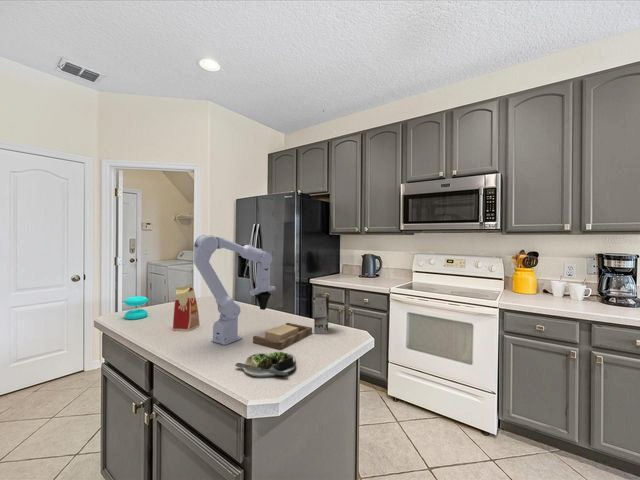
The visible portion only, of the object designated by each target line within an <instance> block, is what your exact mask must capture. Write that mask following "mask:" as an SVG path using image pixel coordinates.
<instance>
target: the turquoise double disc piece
mask: <svg viewBox="0 0 640 480" xmlns="http://www.w3.org/2000/svg"><path fill="white" fill-rule="evenodd" d="M148 301H149V298H148V297H146V296H141V295H139V296H131V297H127V298H125V300H124V304H125V305H126V306H129V307H139V306H143V305H145V304H147V303H148ZM147 316H148V311H147V310H146V309H143V308H137V309H131V310H128V311H126V312H125V314H124V318H125V319H126V320H141V319H144V318H146V317H147Z"/></svg>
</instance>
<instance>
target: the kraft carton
mask: <svg viewBox="0 0 640 480" xmlns="http://www.w3.org/2000/svg"><path fill="white" fill-rule="evenodd" d="M296 333H298V327H293V326H289V325H286V323H284V324H280V325H278V326H276V327H273V328H270V329H268V330H265V331H264V338H267V339H271V340H275V341H281V340H283V339H285V338H288V337H290V336H292V335H294V334H296Z"/></svg>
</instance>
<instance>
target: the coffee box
mask: <svg viewBox="0 0 640 480" xmlns="http://www.w3.org/2000/svg"><path fill="white" fill-rule="evenodd" d="M329 305H330V296H329V293H315V294H314V309H313V310H314V312H313V313H314V315H313V318H314V319H313V320H314V321H313V326H314V327H313V334H318V335H319V334H320V335H321V334H322V335H323V334H324V335H328V334H329V316H330V314H329V311H330V309H329V307H330V306H329Z"/></svg>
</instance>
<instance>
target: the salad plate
mask: <svg viewBox="0 0 640 480" xmlns="http://www.w3.org/2000/svg"><path fill="white" fill-rule="evenodd" d="M274 364H275V365H274ZM235 367H237V368H239V369H242V370H243V371H244V372H245V374H248V375H250V376H253V377H258V378H262V377H263V378H265V377H267V378H270V377H271V378H273V377H274V378H276V376H282V377H285V375H286V376H289V375H291V374H292V373H294V372H295V370H296V367H297V366H296V356H295V355H294V354H292V353H289V352H284V351H277V352H276V351H275V352H259V353H258V352H257V353H254V354H251V355H249V356H248V357H247V358H246V360H245V363H242V362H237V363H235ZM290 373H291V374H290ZM288 374H289V375H288Z"/></svg>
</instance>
